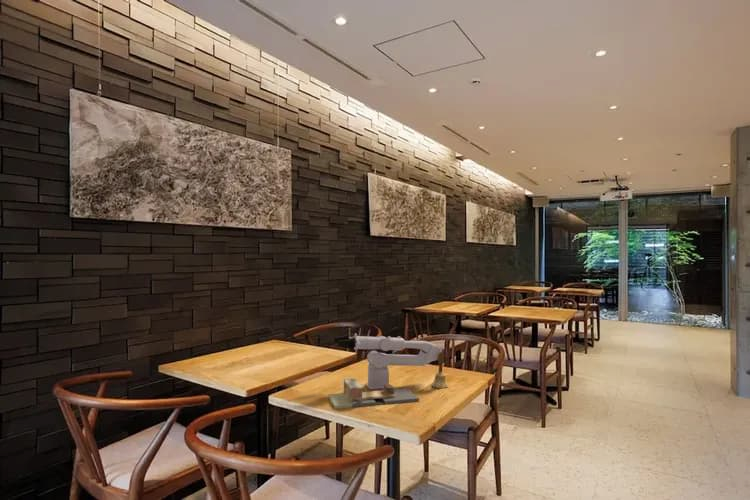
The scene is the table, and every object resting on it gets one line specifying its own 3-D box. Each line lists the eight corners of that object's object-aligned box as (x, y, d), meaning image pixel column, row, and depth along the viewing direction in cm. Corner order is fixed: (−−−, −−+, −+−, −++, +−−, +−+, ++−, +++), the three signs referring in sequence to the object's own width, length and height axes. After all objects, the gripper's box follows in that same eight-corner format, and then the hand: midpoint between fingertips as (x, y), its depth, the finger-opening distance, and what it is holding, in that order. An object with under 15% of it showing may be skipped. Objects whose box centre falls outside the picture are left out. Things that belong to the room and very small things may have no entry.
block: (356, 393, 180) (356, 384, 180) (359, 396, 175) (359, 387, 175) (346, 394, 178) (346, 384, 178) (348, 397, 174) (348, 388, 174)
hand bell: (450, 384, 202) (450, 351, 202) (447, 389, 194) (447, 354, 195) (432, 382, 205) (433, 349, 205) (429, 387, 197) (430, 353, 197)
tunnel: (354, 392, 183) (355, 378, 183) (362, 402, 172) (362, 387, 172) (343, 393, 182) (343, 379, 182) (350, 403, 170) (350, 388, 170)
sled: (389, 391, 185) (389, 383, 185) (394, 396, 179) (395, 388, 179) (344, 395, 180) (345, 386, 180) (348, 400, 173) (348, 392, 173)
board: (406, 390, 192) (406, 388, 192) (418, 401, 178) (418, 398, 178) (328, 397, 181) (328, 394, 181) (334, 408, 168) (334, 405, 168)
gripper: (361, 331, 202) (333, 330, 198) (370, 337, 188) (340, 335, 184) (360, 346, 202) (332, 345, 198) (368, 352, 188) (339, 352, 184)
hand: (336, 341), depth 191 cm, fingers open, 7 cm apart
